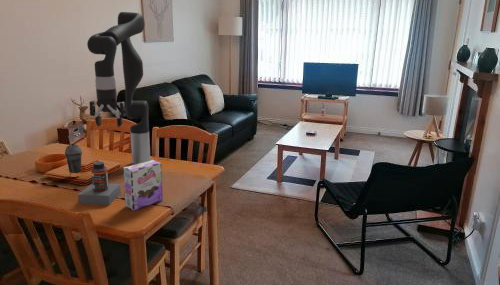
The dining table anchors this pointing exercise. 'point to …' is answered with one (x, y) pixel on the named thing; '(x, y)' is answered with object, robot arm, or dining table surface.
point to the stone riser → (99, 195)
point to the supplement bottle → (99, 176)
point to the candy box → (142, 184)
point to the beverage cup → (73, 157)
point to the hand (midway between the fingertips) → (109, 126)
